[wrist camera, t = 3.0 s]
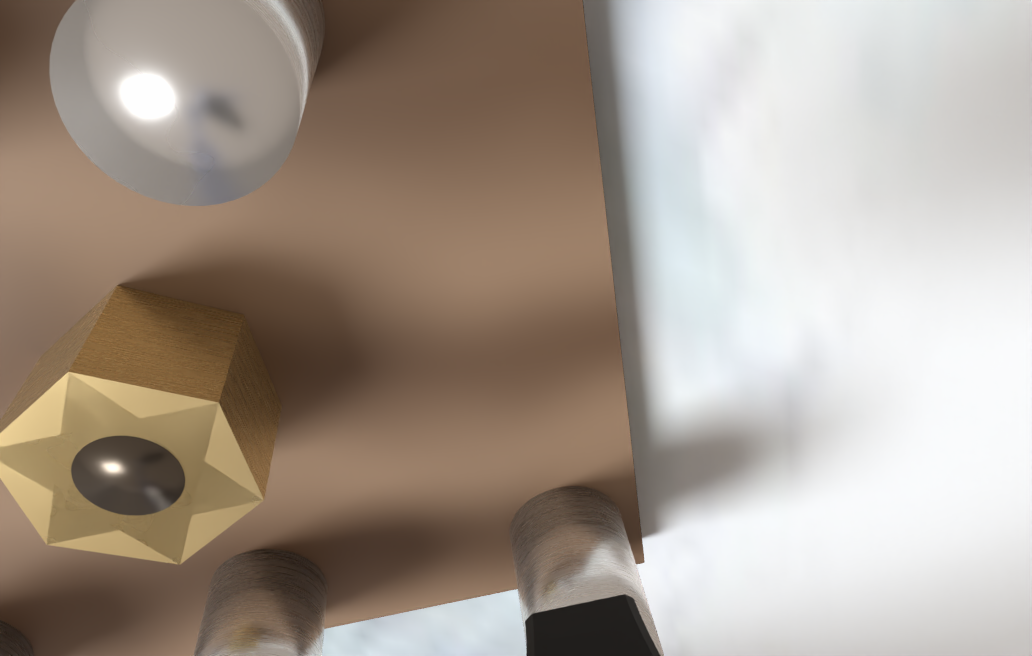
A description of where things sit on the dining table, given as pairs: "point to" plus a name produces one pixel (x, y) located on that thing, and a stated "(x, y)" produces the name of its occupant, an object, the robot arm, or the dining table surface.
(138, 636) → the spacer board
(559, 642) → the robot arm
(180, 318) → the brass nut
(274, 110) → the steel spacers
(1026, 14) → the dining table surface
